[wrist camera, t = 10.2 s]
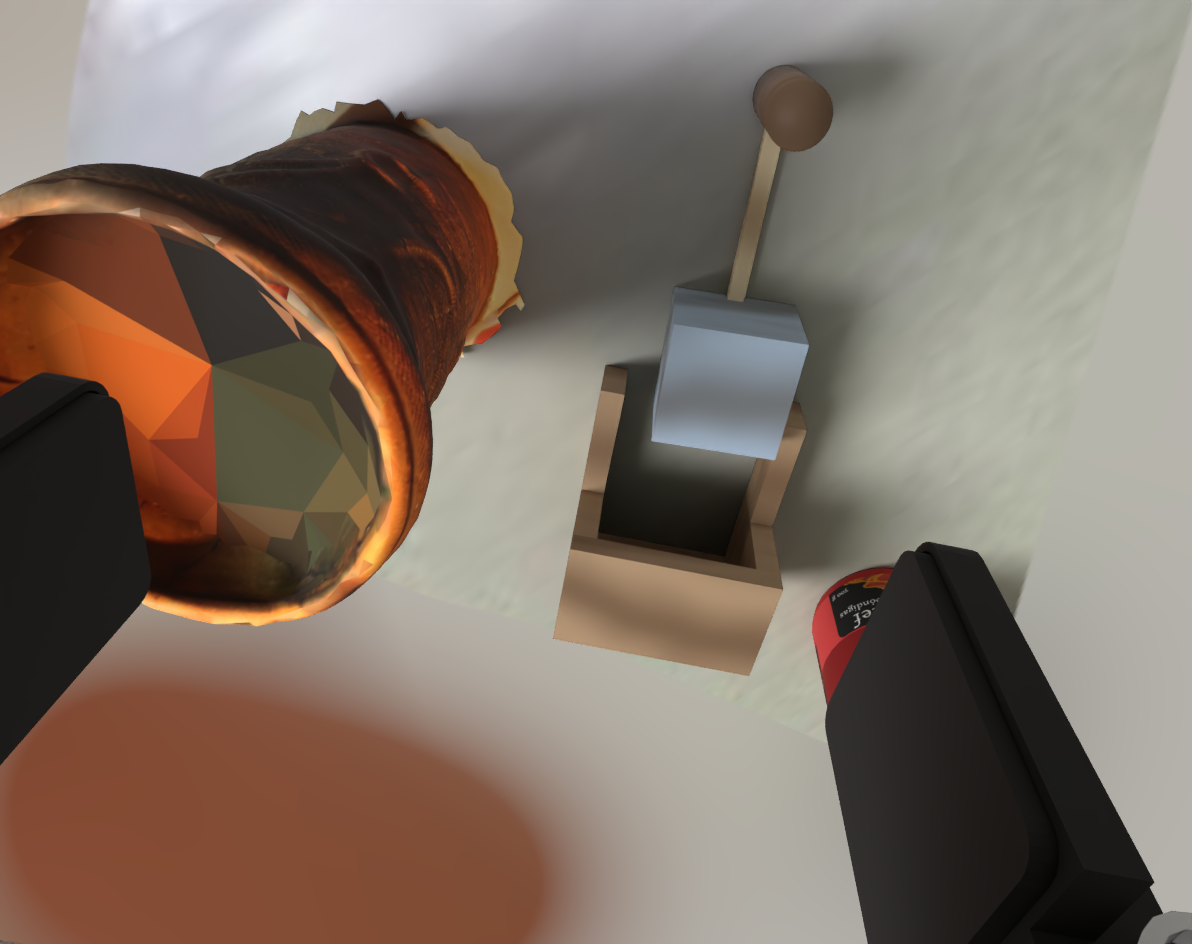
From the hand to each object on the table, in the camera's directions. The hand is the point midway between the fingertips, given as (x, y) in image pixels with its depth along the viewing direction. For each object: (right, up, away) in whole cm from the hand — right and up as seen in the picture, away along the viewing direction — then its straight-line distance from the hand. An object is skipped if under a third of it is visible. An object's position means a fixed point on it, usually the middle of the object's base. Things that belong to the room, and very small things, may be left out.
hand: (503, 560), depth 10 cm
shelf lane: (+6, +1, +35) cm, 35 cm away
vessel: (-9, +12, +29) cm, 33 cm away
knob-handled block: (+8, +11, +28) cm, 31 cm away
